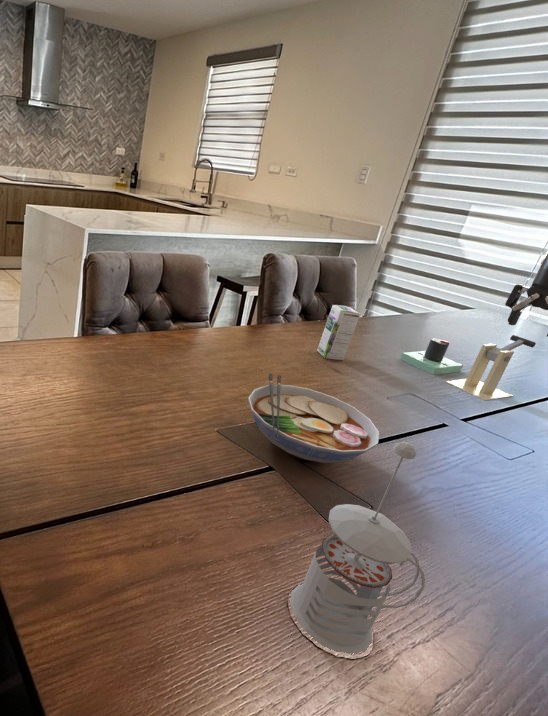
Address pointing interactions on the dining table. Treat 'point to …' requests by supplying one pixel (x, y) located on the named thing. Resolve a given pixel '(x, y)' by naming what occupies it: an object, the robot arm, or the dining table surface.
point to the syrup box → (338, 332)
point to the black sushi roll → (436, 350)
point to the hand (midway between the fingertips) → (530, 330)
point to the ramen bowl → (311, 423)
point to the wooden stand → (488, 387)
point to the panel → (431, 363)
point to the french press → (353, 574)
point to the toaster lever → (509, 347)
